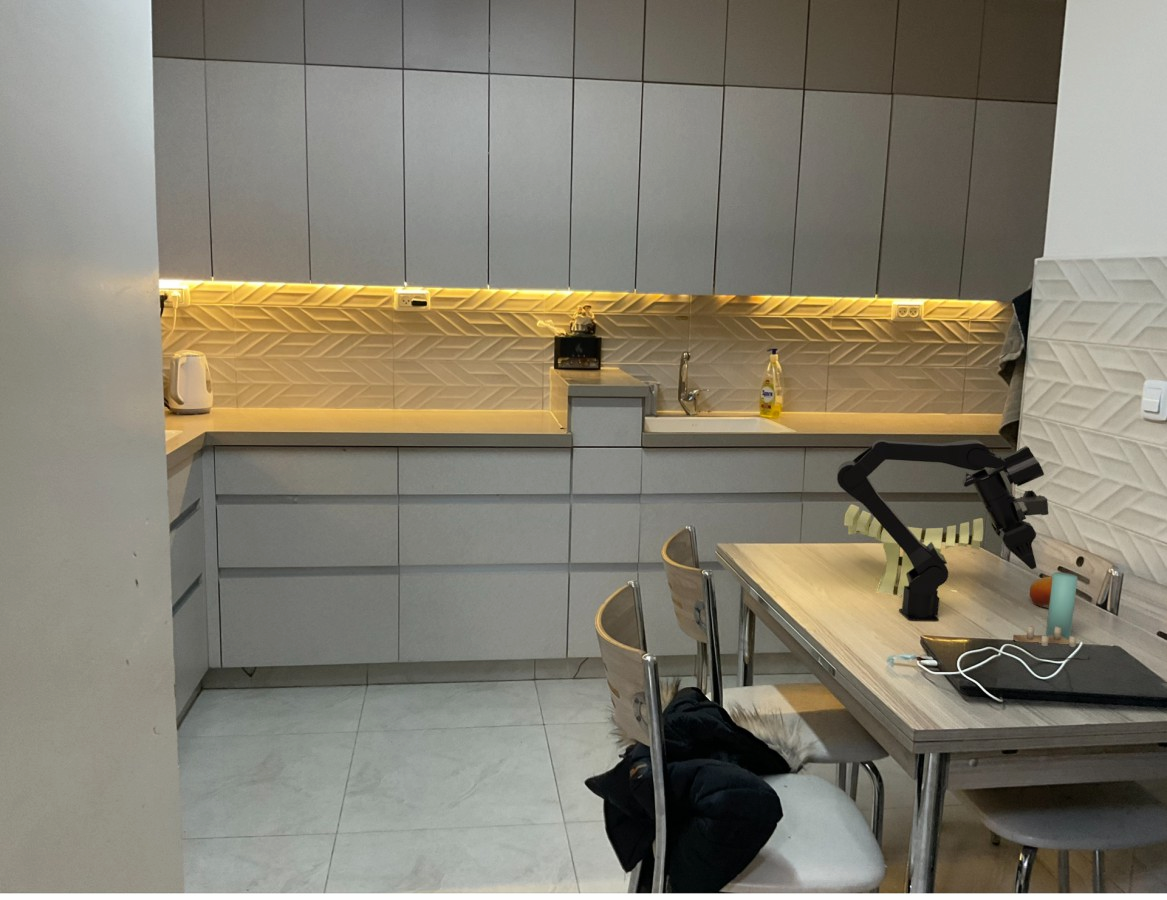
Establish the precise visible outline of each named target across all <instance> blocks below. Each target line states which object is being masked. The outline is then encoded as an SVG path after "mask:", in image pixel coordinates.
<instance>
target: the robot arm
mask: <svg viewBox="0 0 1167 900" xmlns="http://www.w3.org/2000/svg"><path fill="white" fill-rule="evenodd" d="M886 460H891V461H905V462H907V461H909V462H924V463H925V462H926V463H942V464H946V465H950V466H953V467H957V468H961V469H966V470H969V471H973V473H969V472H967V471H966V472H965V473H964V477H963V480H962V481H961V483H962V485H963V487H965V488H967V487H969V486H972V485H973V486H974V489H975V490H976V493H977V494H978V496H979V498H980V500H981V502H982V506H983V507H984V509H985V511H986V512H987V514H988V515H989V519H988V522H989V524H990V526H991V528H992V530H993V531H994V532H995V534H996V535H997V536H998V537H999V538H1000V539H1001V541H1002V543H1003V544H1004V546H1005V547H1006V548H1007V550H1008V551H1010V552H1011V553H1012V554H1013V555H1015V556H1016V557H1017V558H1018V559H1019V560H1020V561H1021V562H1022V563H1024V564H1025V565H1026V566H1027V567H1028V568H1029V569H1030V570H1034V569H1036V568H1037V562H1036V558H1035V554H1034V549H1033V543H1034V542H1033V541H1034V540H1035V539H1036V537H1037V532H1036V531H1035V529H1034V528H1035V527H1034V526H1033V525H1032V524H1031V523H1030V522H1028V521H1024V520H1027V516H1037V515H1040V516H1047V515H1049V505H1048V502H1049V501H1048V498H1047V497H1045V496H1044V495H1040V494H1039V495H1037V494H1036V492H1035V491H1034V490H1033V489H1032V490H1024V493H1023V496H1019V497H1017V498H1016V497H1015V496H1014V495H1013V494H1012V493H1011V492H1010V489H1009V487H1008V486H1007V483H1006V482H1005V480H1004V477H1005V478H1006V481H1007V482H1008V484H1009V485H1012V484H1014V485H1016V486H1017V487H1020V486H1022V485H1025V484H1026V483H1029V482H1031V481H1033V480H1036V479H1038V478H1040V477H1043V476H1045V473H1044V471H1043V468H1042V466H1041V464H1040V462H1039V461H1038V460H1037V458H1036V457H1035V456H1034V454H1033V452H1032V451H1031V449H1030V447H1029V446H1027V445H1025V446H1024V447H1022V448H1021V447H1020V448H1019V449H1018V450H1017V451H1015V452H1012V453H1010V454H1007V455H1005V456H1003V457H1001V455H999V454H998V453H994V452H991V451H990V449H989V448H988V446H986V444H984V443H983V442H982V441H980V440H977V439H966V440H964V439H963V440H957V441H952V442H947V443H946V442H945V443H931V442H915V441H913V442H912V441H894V440H885V439H877V440H875V441H874V442H873V444H872V445H871V446H869V447H868V448H867V449H866V450H864V451H863V452H862V453H860V454H858V455H857V456H856V457H855V458H854V459H852V460H847V461H844V462H843V463H841V464H840V465H839V466H838V467H837V471H836V480H837V483H838V485H839V487H840V488H841V489H842V490H843V491H844V492H846V493H847V494H848V495H849V496H851V497H852V498H853V499H855V500H856V501H858V502H859V503H860V504H862V505H863V506H864V507H865V508H866V509H867V510H868V512H869V513H870V514H871V516H873V518H874V517H875V518H876V519H877V520H878V522H879V523H880V524H881V525H882V526H883V527H884V529H885V530H886V531H887V532H888V533H889V534H890V535H891V537H892V538H893V539H894V540H895V541H896V542H897V543H898V545H899V546H900V549H901V550H902V551H903V550H904V552H905V553H906V554H907V556H908V557H909V559H910V561H911V563H912V565H913V566H914V568H913V569H911V570H910V571H909V572H907V573H906V575H907V579H908V583H909V586H904V594H903V596H902V607H901V608H899V609H898V612H899V613H900V614H901V615H902V616H904V618H906V619H908V620H909V621H923V622H924V621H928V622H938V620H939V617H938V615H939V607H940V597H939V596H938V595H939V591H938V589H939V587H940V586H943V585H944V584H945V583H946V582H947V580H948V578H949V569H948V568H947V564H948V563H947V559H946V558H945V555H944V554H942V553H939V552H938V551H937V550H936V548H935V547H934V545H933V543H932V542H930V543H929V545H928V546H926V545H925V544H924V542H922V541H921V542H920V541H919V540H918V539H917V538H916V537H915V535H914V534H913V533H912V532H911V531H910V530H909V529H908V527H909V526H907V525H906V524H905V523H904V521H902V519H901V518H900V517H899V516H898V515H897V513H895V511H894V510H893V509H892V508H891V506H890V505H889V504H888V503H887V502H886V501H885V500H884V499H883V497H882V496H881V495H880V494H879V493H878V491H877V489H876V488H875V486H874V485H873V483H872V481H871V479H870V477H869V476H870V475H871V474H872V473H874V471H875V470H876V469H877V468H878V467H879V466H880V465H881V464H882V463H883V462H885V461H886ZM986 468H988V469H989V470H986ZM1001 472H1002V473H1003V475H1004V477H1003V476H1002V474H1001Z"/></svg>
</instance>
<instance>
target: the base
mask: <svg viewBox="0 0 1167 900" xmlns="http://www.w3.org/2000/svg"><path fill="white" fill-rule="evenodd" d="M1034 634H1035V626H1033V625H1027V631H1026V634H1013V635H1012V637H1013V638H1012V641H1013V640H1015V641H1020V642H1039V643H1041V645H1042V646H1048V643H1059V644H1069V646H1071V647H1075V646H1076V645H1077V636H1074V635H1071V636H1070V638H1069V640H1067V639H1066V638H1064V637H1063V636H1061V627H1057V626H1056V627H1055V630H1054V636H1046V634H1044V635H1042V634H1041V635H1037V634H1035V635H1034Z"/></svg>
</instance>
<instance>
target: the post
mask: <svg viewBox="0 0 1167 900" xmlns="http://www.w3.org/2000/svg"><path fill="white" fill-rule="evenodd" d="M1052 577H1053V578H1052V587H1051V596H1050V605H1049V608H1048V616H1047V622H1046V623H1047V625H1046V632H1045V635H1047V636H1054V630H1055V627H1056V626H1057V627H1061V636H1063V637H1064V638H1066V639H1067V640H1068V639H1069V638H1070V636H1072V627H1073V620H1074V618H1073V617H1074V610H1075V601H1076V594H1077V586H1078V585H1077V584H1078V576H1077V575H1076V574H1072V573H1067V572H1053V573H1052Z"/></svg>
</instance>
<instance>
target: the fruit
mask: <svg viewBox="0 0 1167 900" xmlns="http://www.w3.org/2000/svg"><path fill="white" fill-rule="evenodd" d="M1052 578H1053V576H1044V577H1041V578H1038V579H1037V580H1035V581H1034V582H1033V583H1031V585H1030V587H1029V597H1030V599H1031V601H1032V603H1034V605H1036V606H1037V607H1039V606H1040V608H1045V609H1049V605H1050V596H1051V587H1052Z"/></svg>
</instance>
